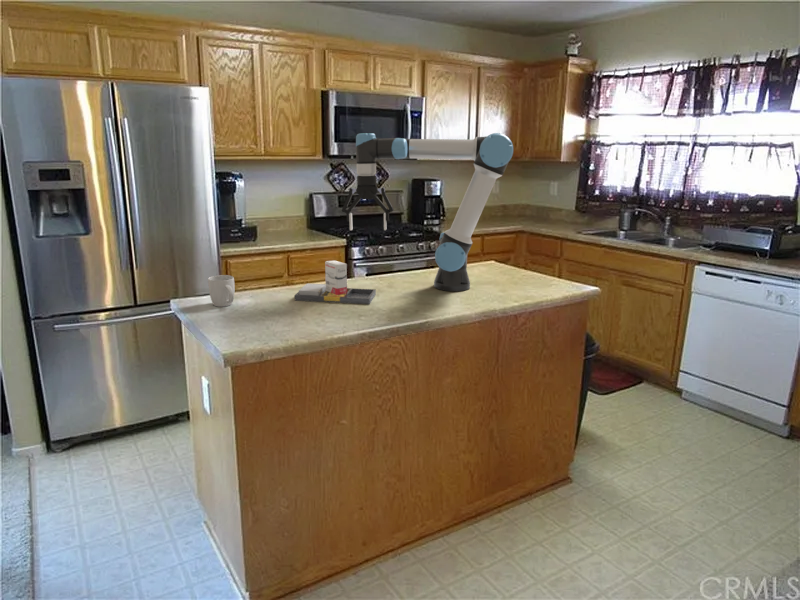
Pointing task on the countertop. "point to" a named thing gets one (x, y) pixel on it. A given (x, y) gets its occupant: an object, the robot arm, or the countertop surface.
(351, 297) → the rack
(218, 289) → the mug
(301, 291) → the panel
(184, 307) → the countertop surface
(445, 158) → the robot arm
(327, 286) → the ink box
